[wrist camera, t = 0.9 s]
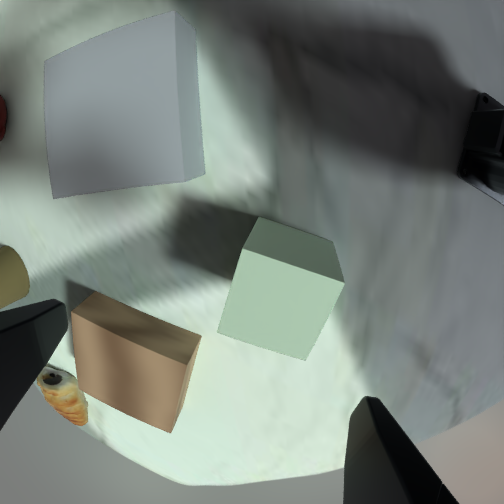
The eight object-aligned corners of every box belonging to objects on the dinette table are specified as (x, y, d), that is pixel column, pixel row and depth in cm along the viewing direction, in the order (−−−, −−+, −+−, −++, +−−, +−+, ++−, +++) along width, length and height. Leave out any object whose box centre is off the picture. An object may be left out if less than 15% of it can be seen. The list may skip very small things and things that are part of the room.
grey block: (197, 31, 16) (174, 10, 12) (206, 173, 19) (185, 181, 16) (78, 67, 18) (44, 61, 14) (86, 188, 21) (53, 199, 17)
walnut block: (203, 333, 24) (187, 365, 20) (183, 404, 28) (170, 433, 24) (97, 289, 24) (71, 311, 20) (97, 365, 28) (78, 389, 24)
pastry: (102, 422, 32) (89, 442, 29) (66, 408, 33) (53, 425, 30) (78, 373, 29) (61, 393, 26) (41, 359, 30) (24, 376, 26)
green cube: (332, 241, 19) (345, 282, 14) (305, 305, 21) (305, 360, 16) (259, 216, 20) (242, 248, 14) (237, 283, 21) (216, 332, 16)
